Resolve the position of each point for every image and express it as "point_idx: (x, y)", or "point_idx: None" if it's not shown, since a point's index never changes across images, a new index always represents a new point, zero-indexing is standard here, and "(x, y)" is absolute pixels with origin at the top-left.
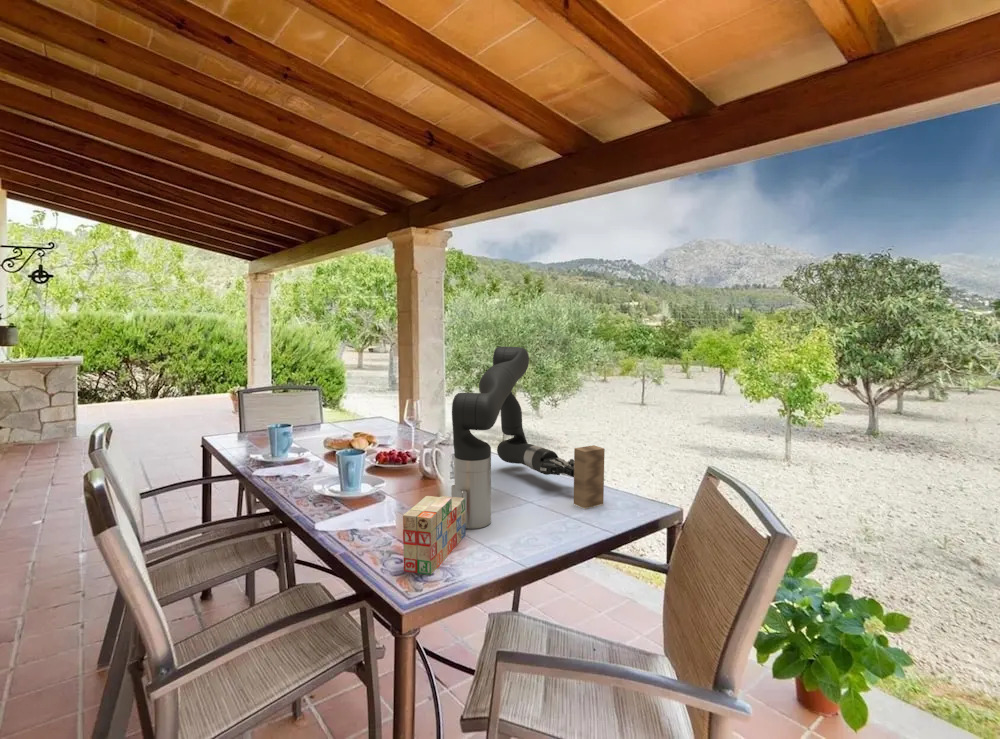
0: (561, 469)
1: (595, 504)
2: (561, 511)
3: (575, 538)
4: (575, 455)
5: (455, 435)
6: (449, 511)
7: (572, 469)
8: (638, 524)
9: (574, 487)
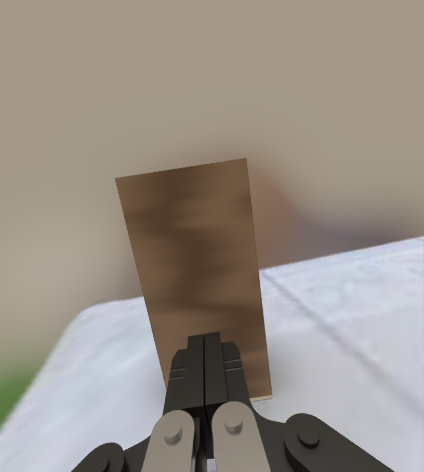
0: (275, 429)
1: None
2: (339, 356)
3: (331, 267)
4: (248, 194)
5: None
6: None
7: (220, 337)
8: None
9: (264, 333)
